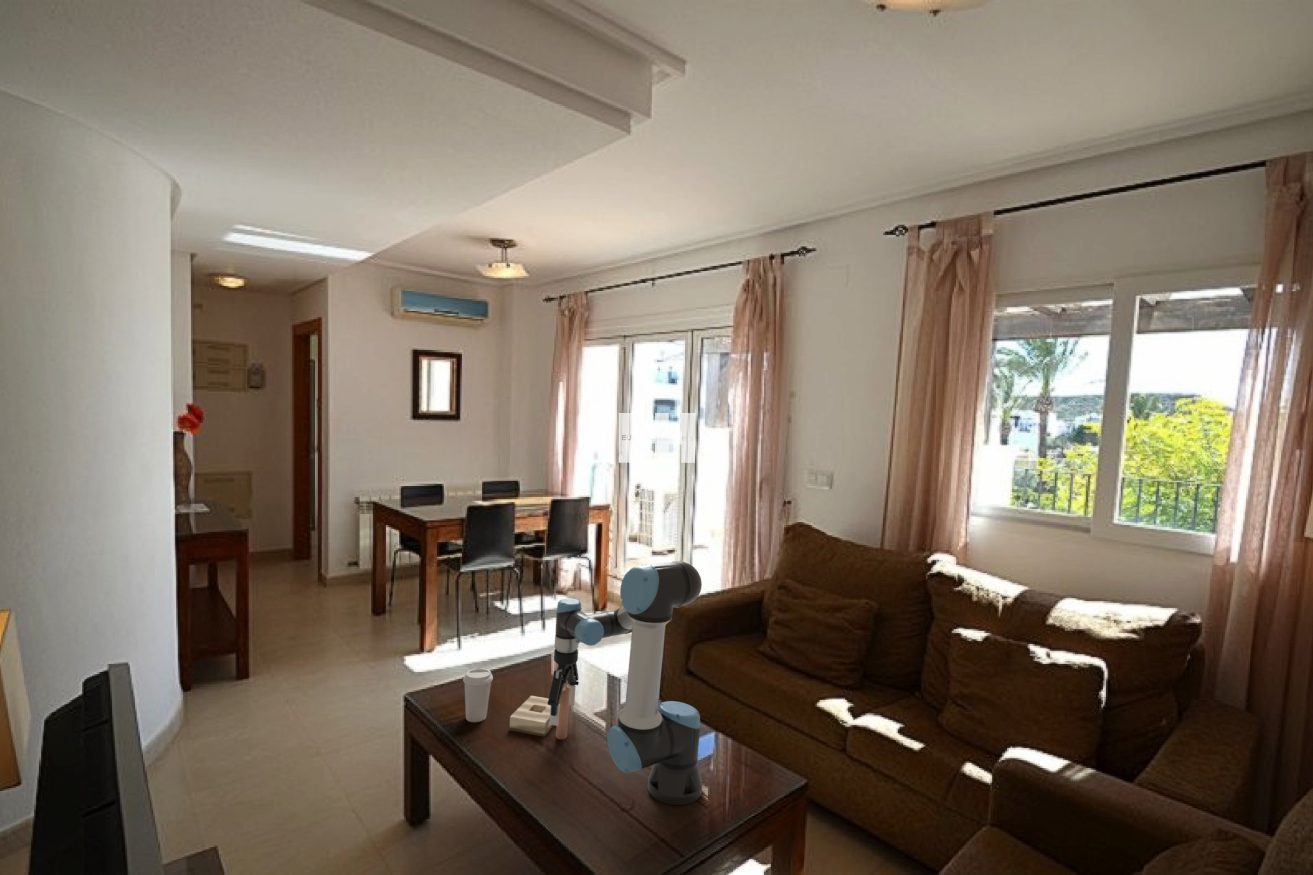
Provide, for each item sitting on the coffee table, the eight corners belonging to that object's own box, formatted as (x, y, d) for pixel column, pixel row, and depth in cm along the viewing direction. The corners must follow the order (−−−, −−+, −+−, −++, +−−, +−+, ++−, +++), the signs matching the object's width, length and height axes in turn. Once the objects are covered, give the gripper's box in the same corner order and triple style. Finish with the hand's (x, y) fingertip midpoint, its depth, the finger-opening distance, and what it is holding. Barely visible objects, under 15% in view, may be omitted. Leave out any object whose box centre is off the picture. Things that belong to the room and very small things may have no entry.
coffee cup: (495, 712, 212) (497, 668, 212) (484, 725, 203) (487, 680, 202) (467, 709, 213) (470, 665, 213) (456, 722, 204) (458, 677, 203)
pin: (564, 740, 197) (567, 693, 196) (553, 738, 198) (556, 691, 197) (568, 734, 200) (571, 688, 200) (558, 732, 201) (560, 686, 201)
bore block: (544, 736, 198) (545, 722, 198) (509, 730, 201) (510, 716, 201) (563, 714, 214) (563, 701, 214) (530, 708, 216) (531, 695, 216)
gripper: (562, 665, 185) (558, 735, 186) (590, 637, 209) (586, 699, 210) (539, 661, 187) (535, 731, 188) (569, 633, 211) (565, 695, 212)
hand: (562, 714), depth 199 cm, fingers open, 13 cm apart
